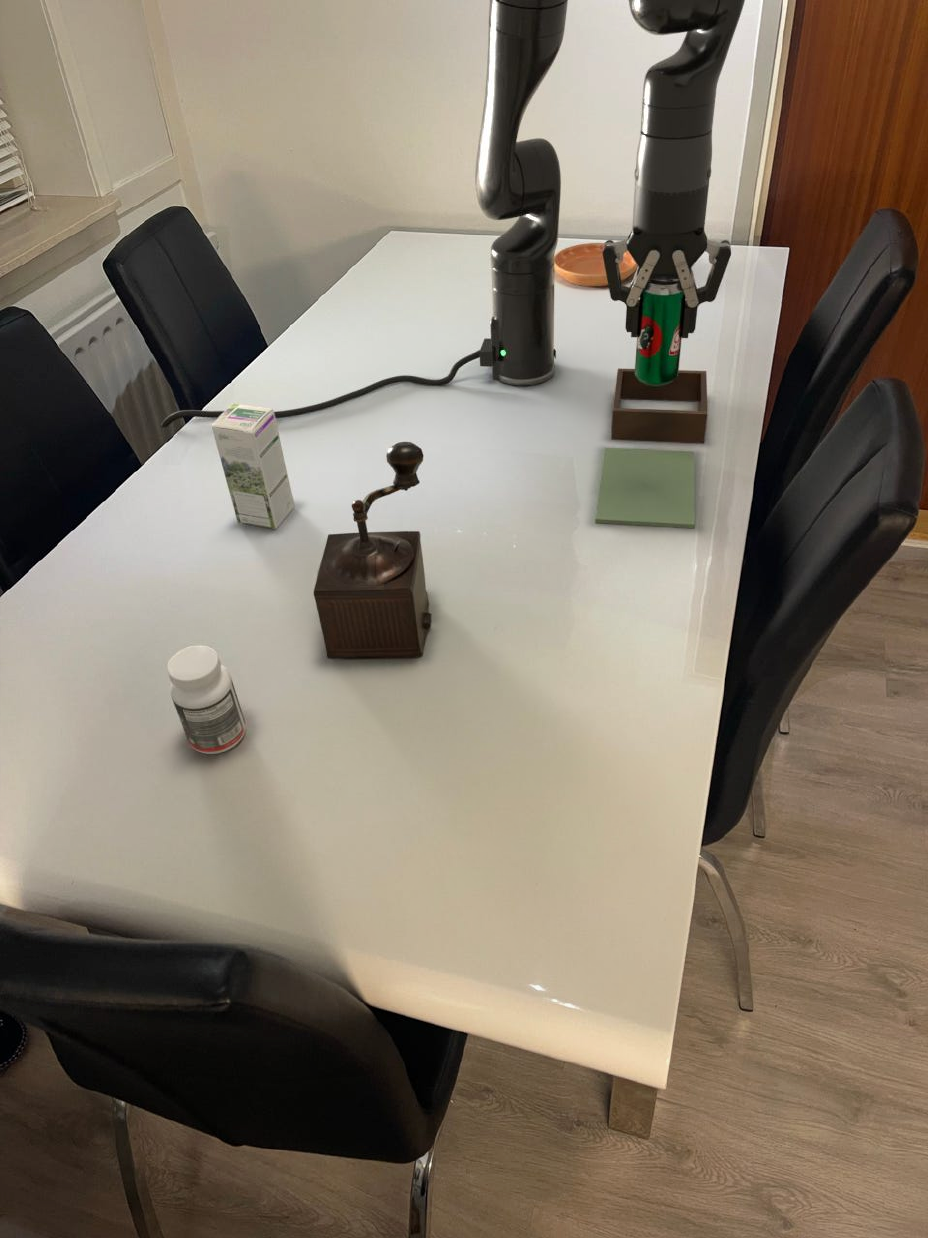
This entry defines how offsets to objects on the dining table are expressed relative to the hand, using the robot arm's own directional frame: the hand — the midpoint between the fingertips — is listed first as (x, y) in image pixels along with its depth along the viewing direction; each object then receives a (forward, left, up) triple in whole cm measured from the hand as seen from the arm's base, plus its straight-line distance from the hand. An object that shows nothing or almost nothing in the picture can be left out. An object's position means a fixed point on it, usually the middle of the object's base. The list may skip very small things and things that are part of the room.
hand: (659, 334), depth 107 cm
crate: (+1, +18, -21) cm, 27 cm away
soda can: (0, 0, -6) cm, 6 cm away
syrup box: (-48, -11, -21) cm, 54 cm away
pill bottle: (-40, -48, -21) cm, 66 cm away
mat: (0, 0, -21) cm, 21 cm away
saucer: (-12, +72, -21) cm, 76 cm away
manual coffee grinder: (-28, -28, -21) cm, 45 cm away
